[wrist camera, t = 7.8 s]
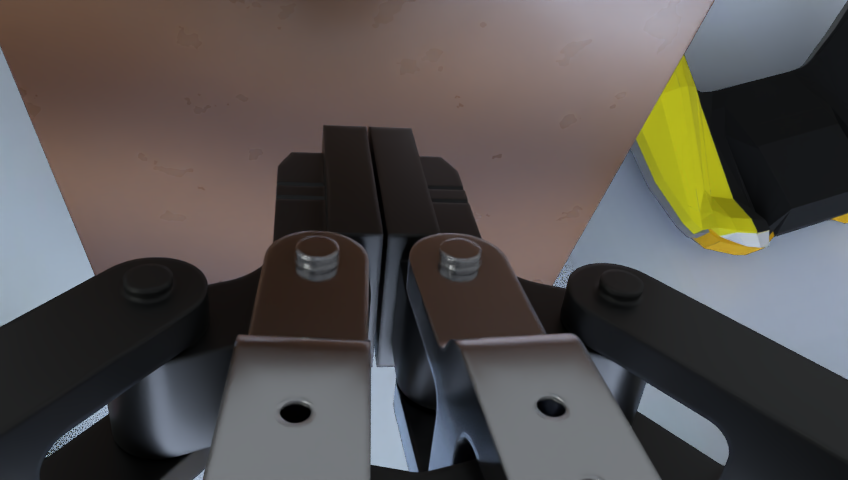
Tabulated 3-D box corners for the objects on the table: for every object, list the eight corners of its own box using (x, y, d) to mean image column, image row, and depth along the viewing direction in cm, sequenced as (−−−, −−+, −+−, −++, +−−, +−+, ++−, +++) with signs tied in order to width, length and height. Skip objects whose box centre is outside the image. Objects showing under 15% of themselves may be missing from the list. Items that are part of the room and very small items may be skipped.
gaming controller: (577, 87, 37) (651, 286, 35) (624, 31, 32) (713, 262, 30) (837, 22, 40) (915, 202, 39) (919, -38, 35) (1014, 167, 33)
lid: (-161, -422, 9) (-183, -393, 9) (841, -286, 11) (863, -258, 11) (112, 286, 23) (108, 311, 22) (535, 288, 25) (538, 310, 24)
